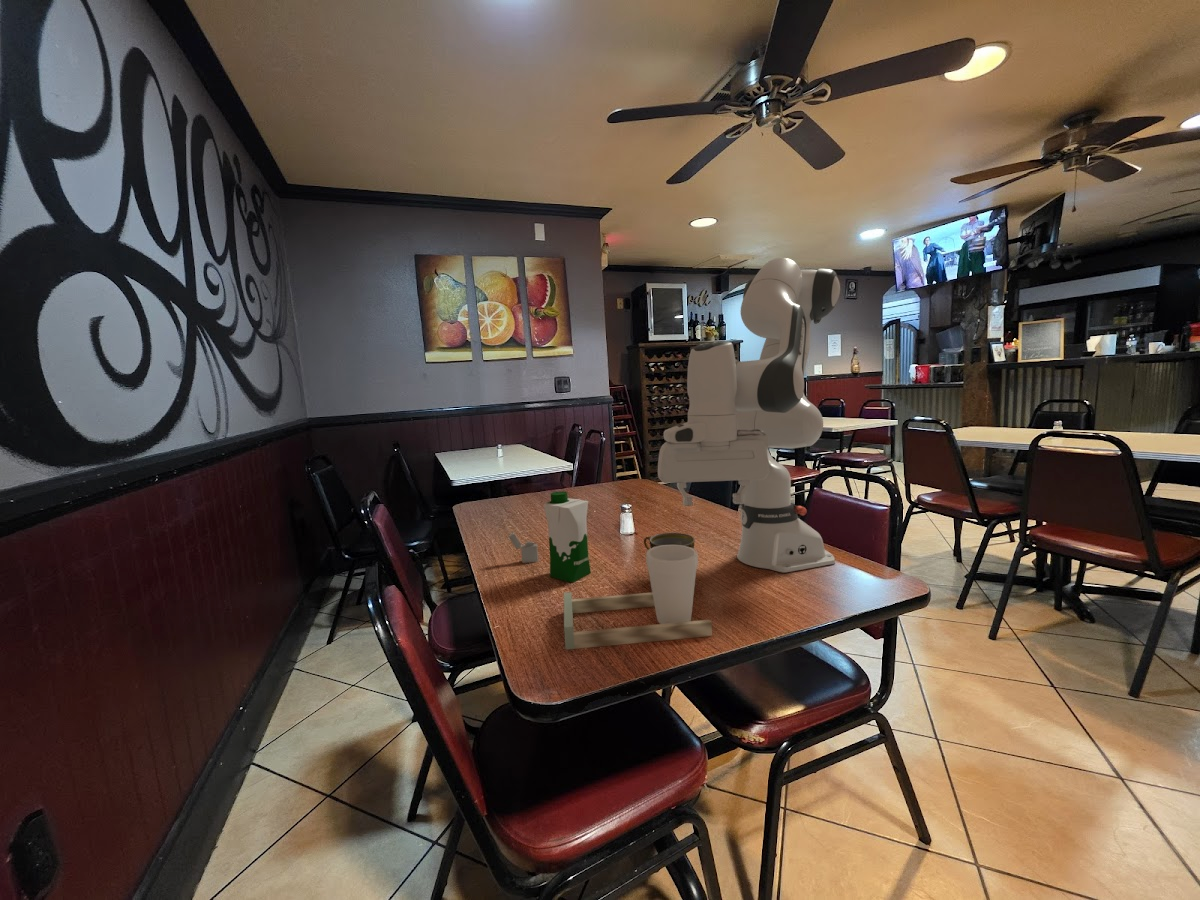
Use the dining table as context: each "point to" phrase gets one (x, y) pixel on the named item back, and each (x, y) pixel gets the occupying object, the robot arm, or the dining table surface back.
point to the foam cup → (672, 581)
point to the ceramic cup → (670, 540)
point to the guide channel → (637, 632)
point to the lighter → (525, 549)
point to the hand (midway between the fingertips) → (712, 504)
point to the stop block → (568, 621)
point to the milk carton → (567, 537)
